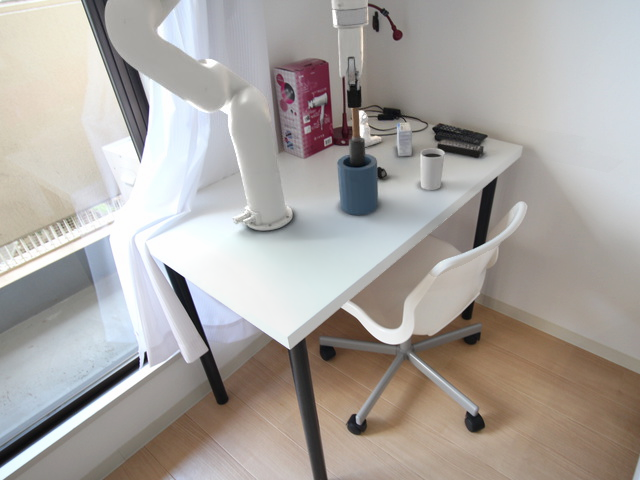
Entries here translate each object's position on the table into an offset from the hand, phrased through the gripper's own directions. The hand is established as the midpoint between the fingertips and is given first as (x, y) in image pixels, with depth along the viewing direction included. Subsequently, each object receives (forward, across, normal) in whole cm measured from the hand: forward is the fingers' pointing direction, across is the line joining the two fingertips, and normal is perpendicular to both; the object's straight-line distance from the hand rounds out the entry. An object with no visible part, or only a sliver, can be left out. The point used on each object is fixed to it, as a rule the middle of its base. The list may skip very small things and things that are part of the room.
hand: (354, 105), depth 102 cm
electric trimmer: (+26, -20, 0) cm, 33 cm away
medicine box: (+28, -35, +14) cm, 47 cm away
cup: (+27, 0, 0) cm, 27 cm away
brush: (+15, 0, 0) cm, 15 cm away
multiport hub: (+28, -34, +32) cm, 54 cm away
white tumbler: (+28, -11, +20) cm, 36 cm away
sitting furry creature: (+28, -43, 0) cm, 51 cm away
